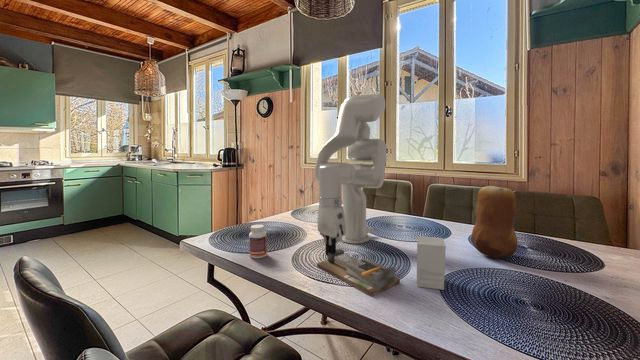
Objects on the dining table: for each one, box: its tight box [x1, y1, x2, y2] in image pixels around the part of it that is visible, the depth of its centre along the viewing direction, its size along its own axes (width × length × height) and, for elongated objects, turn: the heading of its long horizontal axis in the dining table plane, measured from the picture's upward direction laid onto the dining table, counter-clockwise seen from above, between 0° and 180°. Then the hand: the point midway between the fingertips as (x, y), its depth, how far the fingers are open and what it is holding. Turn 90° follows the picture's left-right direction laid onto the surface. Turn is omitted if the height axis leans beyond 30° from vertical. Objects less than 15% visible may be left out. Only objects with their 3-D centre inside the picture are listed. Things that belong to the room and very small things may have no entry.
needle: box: [361, 267, 382, 276], centre depth 83 cm, size 8×2×4 cm, turn 127°
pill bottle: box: [248, 224, 268, 259], centre depth 107 cm, size 6×6×11 cm
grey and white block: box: [327, 248, 366, 270], centre depth 94 cm, size 5×13×3 cm, turn 37°
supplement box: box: [416, 235, 447, 291], centre depth 85 cm, size 7×7×13 cm
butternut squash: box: [470, 185, 518, 260], centre depth 103 cm, size 14×13×25 cm
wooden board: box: [316, 258, 401, 297], centre depth 91 cm, size 12×24×5 cm, turn 37°
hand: (330, 254), depth 101 cm, fingers closed
